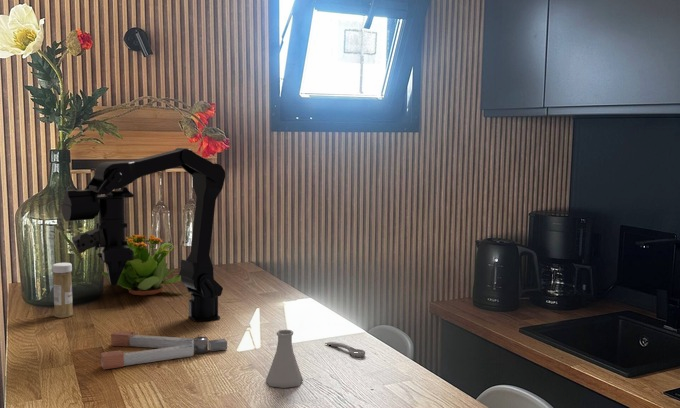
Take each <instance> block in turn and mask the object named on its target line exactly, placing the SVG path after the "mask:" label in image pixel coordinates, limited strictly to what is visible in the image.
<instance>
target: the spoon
mask: <svg viewBox="0 0 680 408" xmlns="http://www.w3.org/2000/svg"><path fill="white" fill-rule="evenodd" d="M325 344H327V345H331V346H330V347H337V348H342V349H345V350H348V352H349V355H350V354H351V355H352V357H353V356H357V357H356V358H358V357H360V358H363V357H365V356H366V351H365V350H364V349H358V348H354V347H352V346H350V345H348V344H347V343H342V342H337V341H336V342H334V341H329V342H325V343H324V345H325ZM354 352H358V353H354ZM351 355H350V356H351Z"/></svg>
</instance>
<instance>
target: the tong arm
mask: <svg viewBox="0 0 680 408" xmlns="http://www.w3.org/2000/svg"><path fill="white" fill-rule="evenodd" d="M208 341H209V339H208V337H207V336H196V337H194V338H192V337H191V338H190V337H175V336H172V337H171V336H160V335H142V334H134V331H131V330H130V331H129V330H115V331H113V332H112V333H110V344H111V345H110V346H112V347H113V346H114V347H126V348H127V347H138V348H155V349H160V348H167V347H175V346H182V345H189V344H191V345H192V346H193V354H198V355H200V354H206V353H208V351H209V349H208Z"/></svg>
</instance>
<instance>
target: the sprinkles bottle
mask: <svg viewBox="0 0 680 408" xmlns="http://www.w3.org/2000/svg"><path fill="white" fill-rule="evenodd" d="M51 268H52V275H53V276H52V277H53V304H54V313H53V315H54V317H55V318H58V319H59V318H65V319H66V318H69V317H71V316H73V315H74V311H73V283H72V271H73V266H72V263H71V262H57V263H53V264H52V267H51Z"/></svg>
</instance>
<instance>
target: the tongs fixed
mask: <svg viewBox="0 0 680 408" xmlns="http://www.w3.org/2000/svg"><path fill="white" fill-rule="evenodd" d="M222 350H223V351H225V350H228V341H227V340H226V338H218V339H211V340H208V351H210V352H215V351H216V352H218V351H222ZM189 357H194V348H193V346H192V345H191V344H189V345H182V346H175V347H167V348H155V349H146V350H139V351H131V352H123V351H122V350H120V349H119V350H112V351H106V352H101V353H100V363H101V364H100V366H101V368H102V369H103V370H110V369H116V368H122V367H125V366H132V365H133V366H134V365H139V364H147V363H153V362H158V361H159V362H160V361H168V360H173V359H180V358H189Z"/></svg>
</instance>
